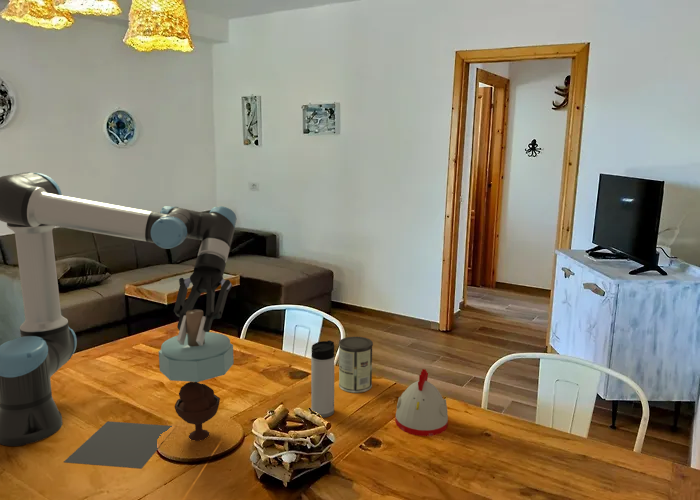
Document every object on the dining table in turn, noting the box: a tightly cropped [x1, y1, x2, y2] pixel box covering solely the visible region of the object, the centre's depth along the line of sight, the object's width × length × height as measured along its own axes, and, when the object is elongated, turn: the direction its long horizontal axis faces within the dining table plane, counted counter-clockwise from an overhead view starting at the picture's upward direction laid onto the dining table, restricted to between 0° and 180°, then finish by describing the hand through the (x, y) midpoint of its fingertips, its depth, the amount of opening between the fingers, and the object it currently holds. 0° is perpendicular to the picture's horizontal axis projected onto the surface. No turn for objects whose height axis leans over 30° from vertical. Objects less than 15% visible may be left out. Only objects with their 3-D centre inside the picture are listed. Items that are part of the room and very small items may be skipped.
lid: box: [158, 308, 235, 383], centre depth 135 cm, size 16×16×14 cm
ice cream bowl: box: [174, 381, 221, 442], centre depth 139 cm, size 11×11×15 cm
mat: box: [63, 420, 173, 469], centre depth 136 cm, size 19×19×1 cm
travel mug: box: [310, 340, 335, 418], centre depth 152 cm, size 6×7×20 cm
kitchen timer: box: [395, 368, 449, 437], centre depth 148 cm, size 14×14×15 cm
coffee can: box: [338, 336, 374, 394], centre depth 169 cm, size 10×10×14 cm
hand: (189, 342), depth 132 cm, fingers closed on lid, 4 cm apart
